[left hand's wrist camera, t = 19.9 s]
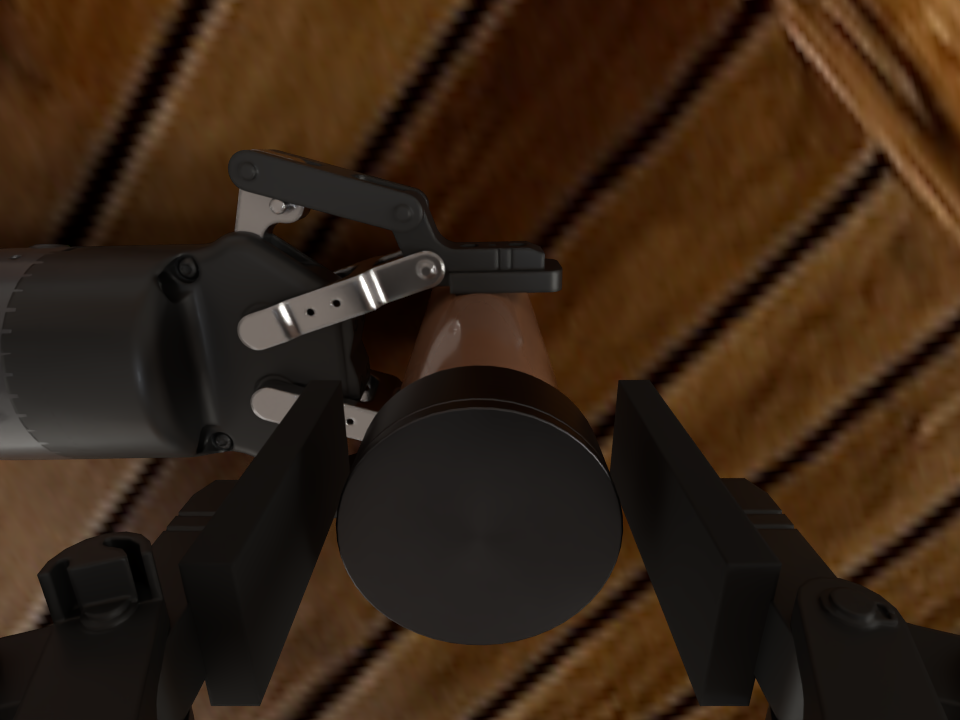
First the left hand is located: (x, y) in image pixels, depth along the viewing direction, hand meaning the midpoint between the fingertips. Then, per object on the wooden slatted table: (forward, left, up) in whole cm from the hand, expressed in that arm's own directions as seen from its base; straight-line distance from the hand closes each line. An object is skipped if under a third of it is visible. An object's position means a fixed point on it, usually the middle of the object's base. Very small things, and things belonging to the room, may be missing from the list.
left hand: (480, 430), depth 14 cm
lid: (0, 0, +4) cm, 4 cm away
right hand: (+2, -2, -6) cm, 7 cm away
